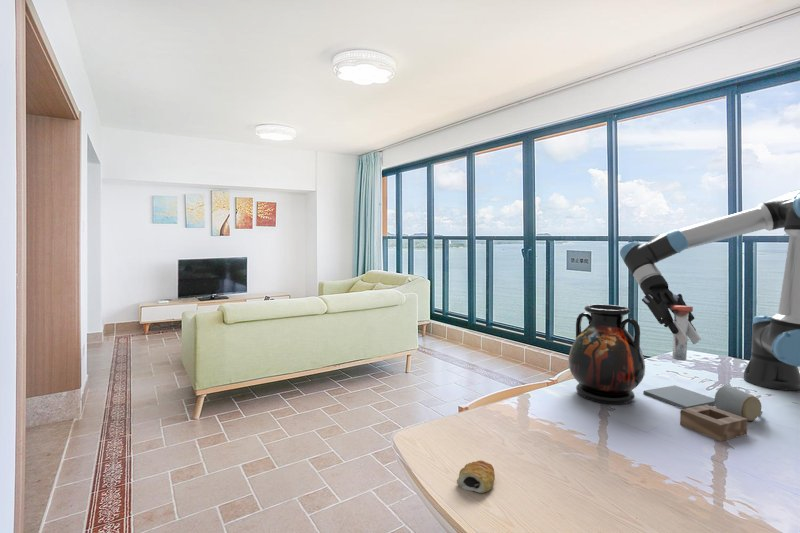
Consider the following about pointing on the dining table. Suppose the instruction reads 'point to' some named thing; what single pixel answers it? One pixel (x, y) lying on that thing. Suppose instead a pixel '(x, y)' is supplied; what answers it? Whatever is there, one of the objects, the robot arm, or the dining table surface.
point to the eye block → (713, 422)
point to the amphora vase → (607, 355)
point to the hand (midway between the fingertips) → (691, 341)
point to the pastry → (476, 477)
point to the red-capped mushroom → (682, 319)
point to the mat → (679, 397)
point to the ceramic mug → (738, 402)
